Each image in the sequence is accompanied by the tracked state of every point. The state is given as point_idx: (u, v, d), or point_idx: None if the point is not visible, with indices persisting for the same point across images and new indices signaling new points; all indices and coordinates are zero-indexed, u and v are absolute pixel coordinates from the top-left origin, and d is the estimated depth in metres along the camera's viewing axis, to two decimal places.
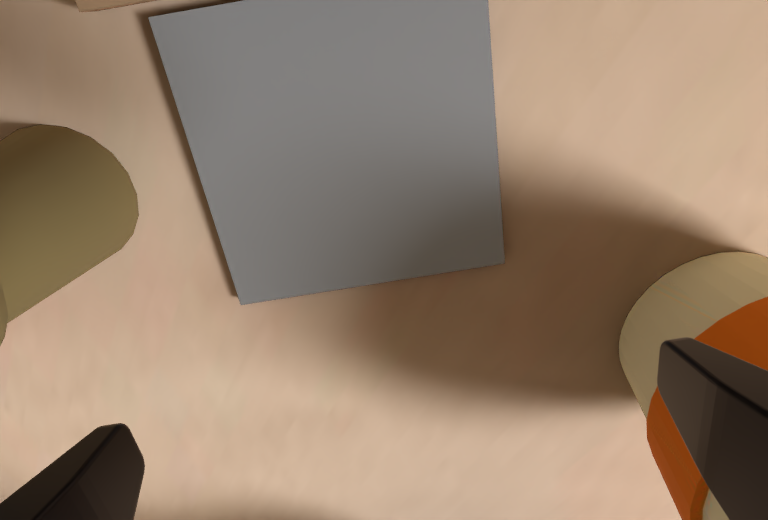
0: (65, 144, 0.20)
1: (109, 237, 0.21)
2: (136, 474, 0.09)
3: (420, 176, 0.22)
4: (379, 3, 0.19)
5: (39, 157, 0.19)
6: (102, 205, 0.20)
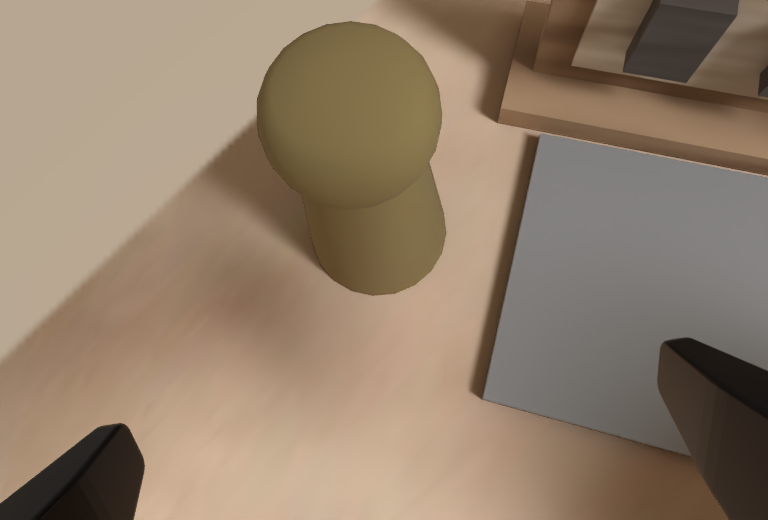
0: None
1: (422, 254, 0.21)
2: (136, 474, 0.09)
3: (731, 342, 0.21)
4: (730, 188, 0.23)
5: None
6: (438, 224, 0.21)
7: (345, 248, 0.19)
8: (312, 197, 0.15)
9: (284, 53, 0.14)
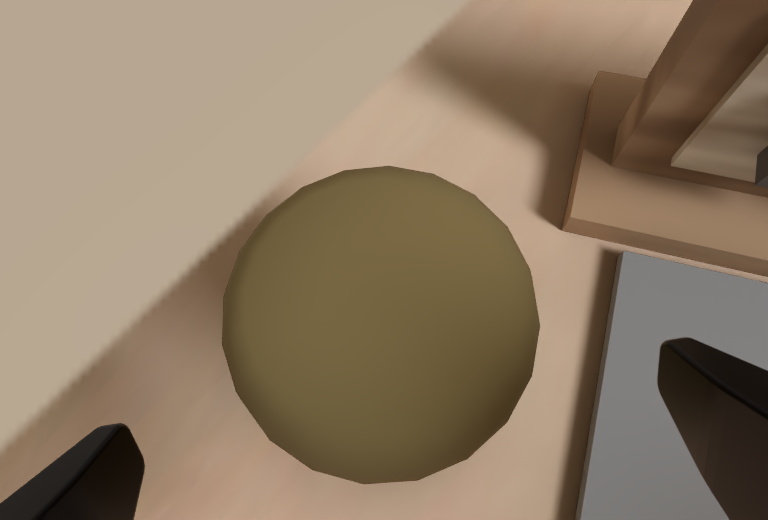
0: None
1: None
2: (136, 474, 0.09)
3: None
4: None
5: None
6: None
7: None
8: None
9: (270, 226, 0.08)
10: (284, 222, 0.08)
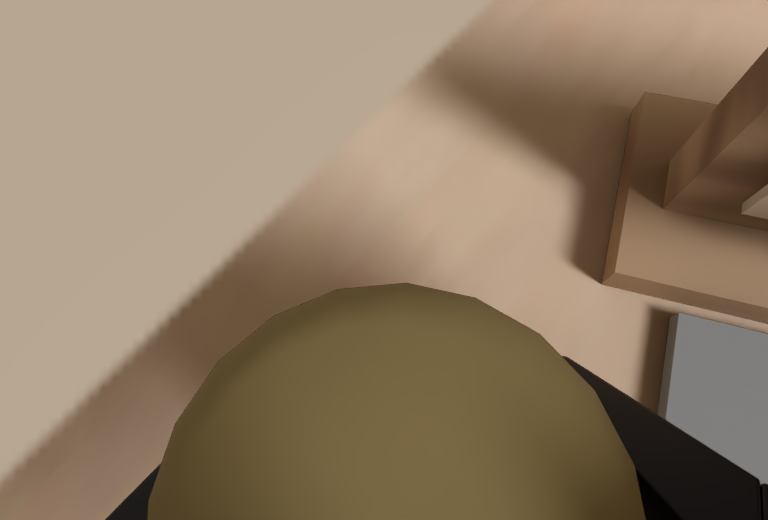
0: None
1: None
2: None
3: None
4: None
5: None
6: None
7: None
8: None
9: (219, 401, 0.05)
10: (240, 398, 0.05)
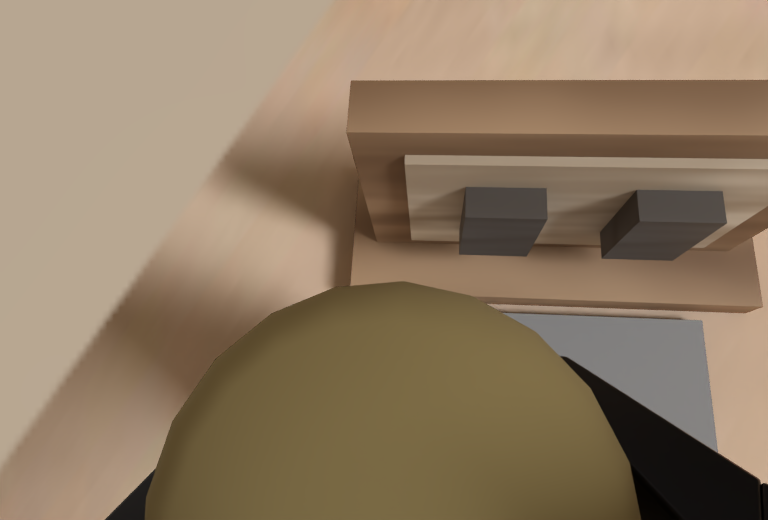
0: None
1: None
2: None
3: None
4: (602, 337, 0.21)
5: None
6: None
7: None
8: None
9: (216, 398, 0.05)
10: (237, 395, 0.05)
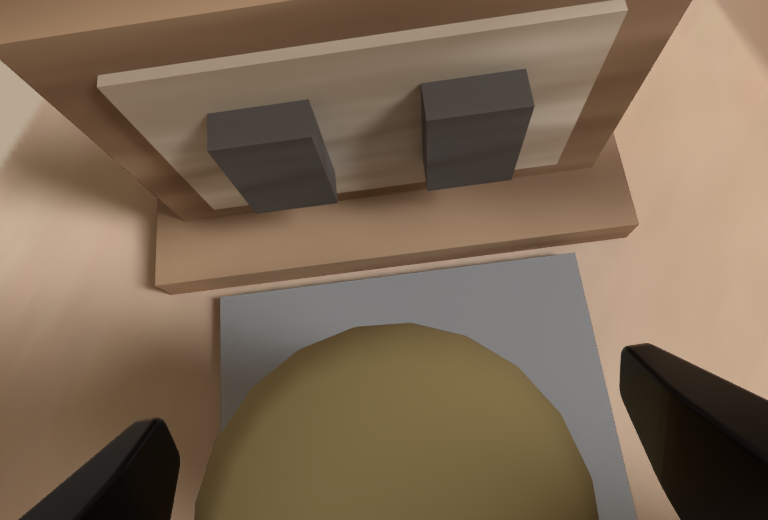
0: None
1: None
2: (173, 468, 0.09)
3: None
4: (463, 291, 0.18)
5: None
6: None
7: None
8: None
9: (255, 424, 0.06)
10: (272, 423, 0.06)
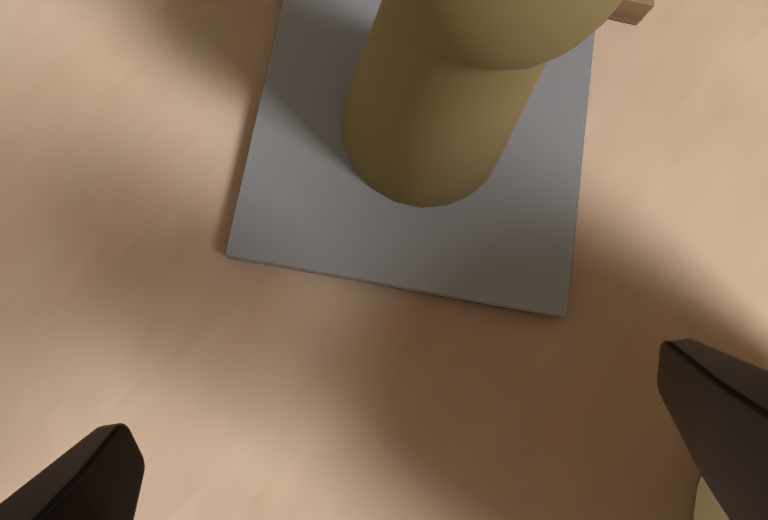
0: None
1: (477, 171, 0.17)
2: (136, 474, 0.09)
3: (494, 176, 0.19)
4: None
5: None
6: (506, 142, 0.17)
7: (400, 127, 0.15)
8: (425, 22, 0.10)
9: None
10: None
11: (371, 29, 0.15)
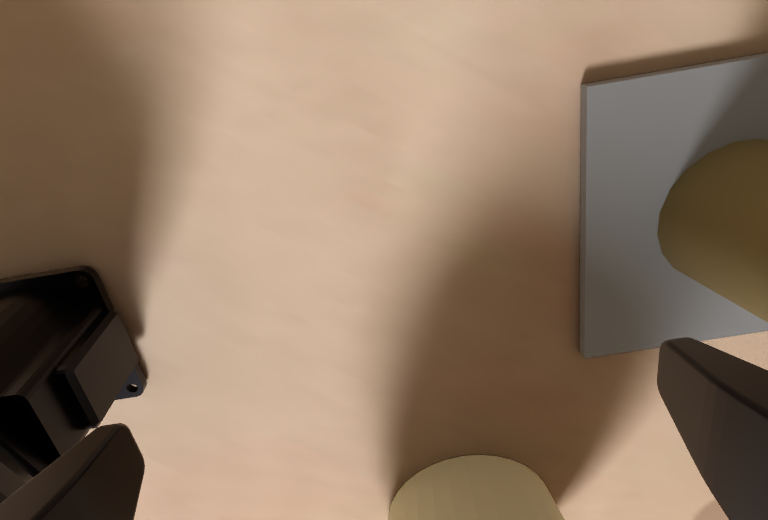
0: None
1: (706, 285, 0.20)
2: (136, 474, 0.09)
3: (693, 281, 0.23)
4: None
5: None
6: None
7: (754, 243, 0.17)
8: None
9: None
10: None
11: None
